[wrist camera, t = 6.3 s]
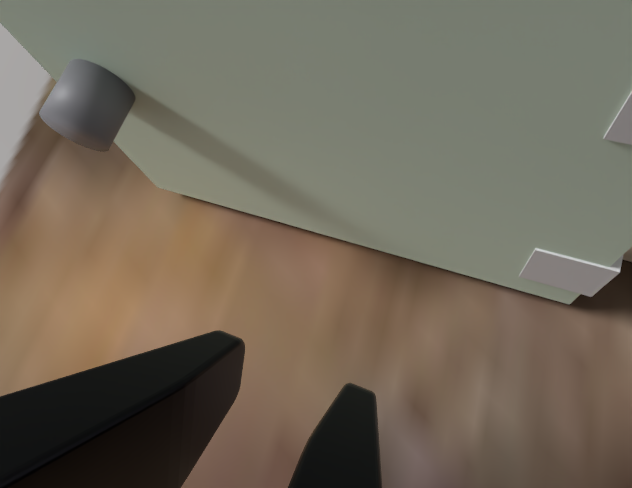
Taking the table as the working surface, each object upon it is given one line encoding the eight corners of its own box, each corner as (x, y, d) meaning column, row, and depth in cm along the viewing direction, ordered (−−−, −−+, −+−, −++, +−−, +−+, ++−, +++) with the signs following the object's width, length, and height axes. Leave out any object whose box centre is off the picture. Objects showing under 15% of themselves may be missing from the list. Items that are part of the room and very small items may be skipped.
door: (568, 353, 13) (966, 103, 4) (140, 221, 16) (-221, -87, 7) (590, 250, 14) (964, -171, 4) (178, 144, 17) (-101, -224, 8)
